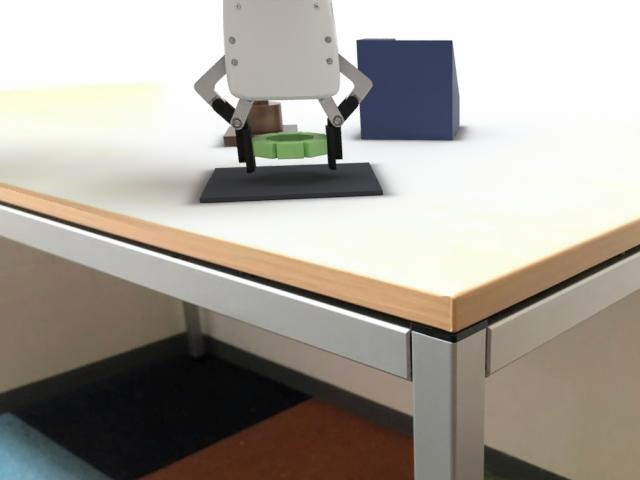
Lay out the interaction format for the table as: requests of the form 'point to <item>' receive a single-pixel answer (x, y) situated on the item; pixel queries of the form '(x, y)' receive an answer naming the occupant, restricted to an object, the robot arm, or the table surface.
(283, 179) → the mat
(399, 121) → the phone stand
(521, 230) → the table surface
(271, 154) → the ring
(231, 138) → the stand
